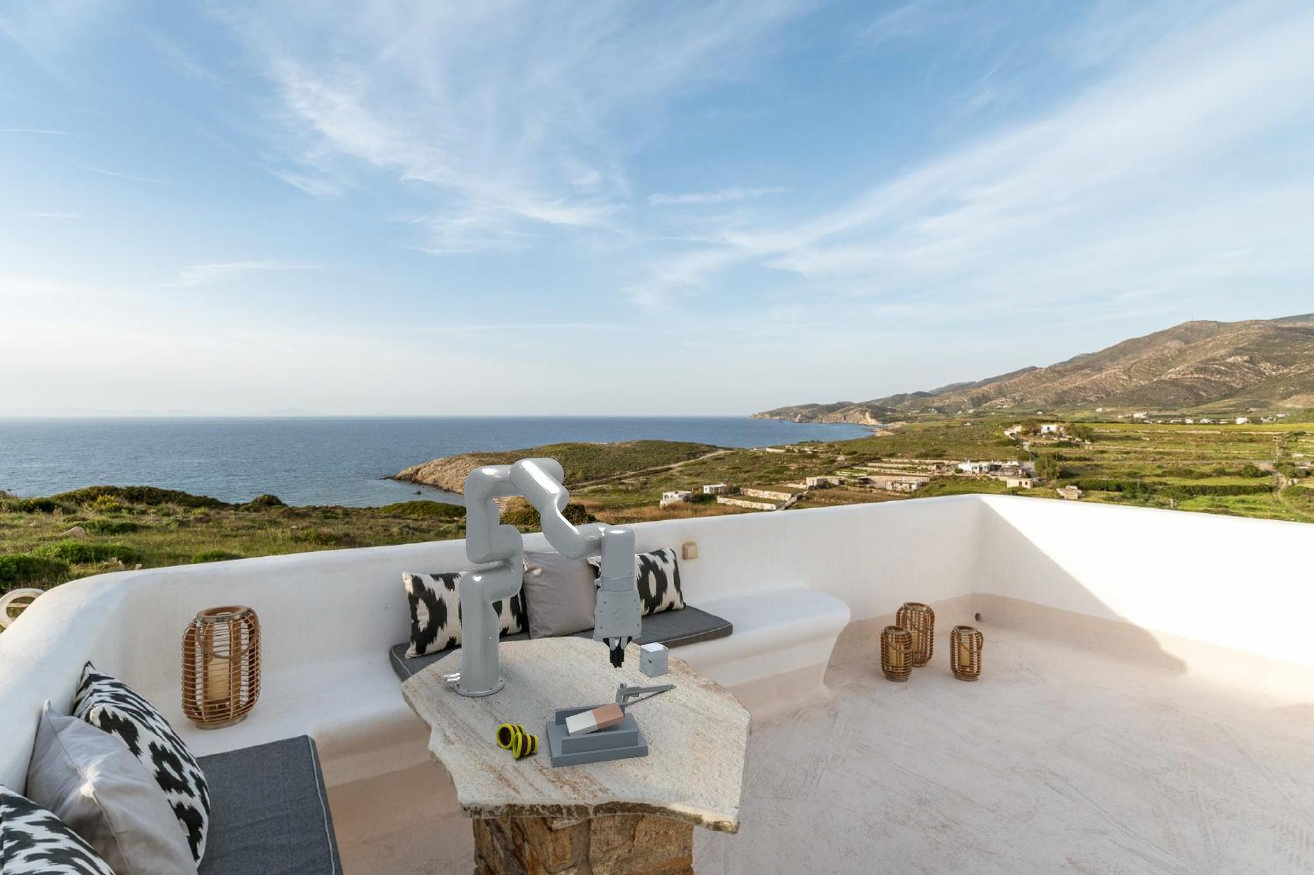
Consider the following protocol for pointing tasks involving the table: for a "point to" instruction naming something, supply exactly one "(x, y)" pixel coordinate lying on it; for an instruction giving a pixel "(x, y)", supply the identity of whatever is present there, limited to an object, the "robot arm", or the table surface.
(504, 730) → the opera glasses
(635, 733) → the grey piece
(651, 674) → the skincare box
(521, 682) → the table surface
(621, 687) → the caliper
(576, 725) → the two-tone peach white tile
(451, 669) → the table surface
